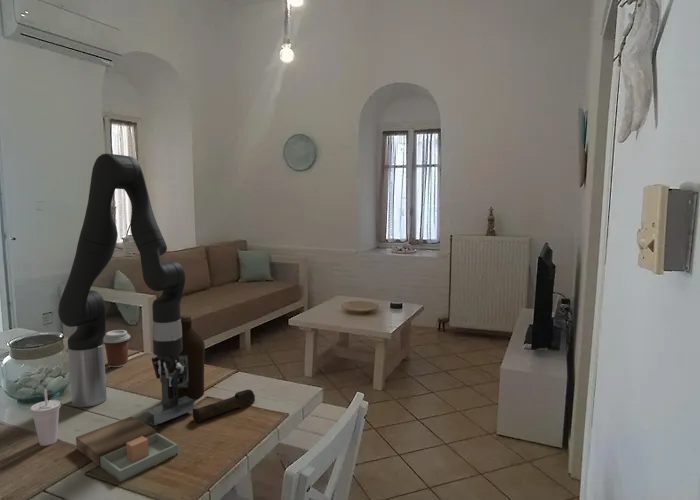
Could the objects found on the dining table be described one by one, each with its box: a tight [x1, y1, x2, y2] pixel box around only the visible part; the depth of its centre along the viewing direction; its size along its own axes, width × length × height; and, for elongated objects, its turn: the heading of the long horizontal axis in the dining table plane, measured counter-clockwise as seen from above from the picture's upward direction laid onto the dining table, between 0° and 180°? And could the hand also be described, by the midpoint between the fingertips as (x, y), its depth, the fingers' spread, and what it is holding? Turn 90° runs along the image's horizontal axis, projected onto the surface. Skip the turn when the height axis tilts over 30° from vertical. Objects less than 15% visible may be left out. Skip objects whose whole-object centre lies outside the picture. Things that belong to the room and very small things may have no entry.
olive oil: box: [178, 314, 206, 400], centre depth 146 cm, size 11×11×25 cm
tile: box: [126, 436, 149, 463], centre depth 112 cm, size 4×4×2 cm
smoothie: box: [30, 388, 62, 447], centre depth 119 cm, size 6×6×14 cm
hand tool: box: [192, 389, 256, 424], centre depth 136 cm, size 19×4×5 cm, turn 131°
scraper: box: [145, 372, 195, 426], centre depth 132 cm, size 4×12×12 cm, turn 142°
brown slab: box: [75, 415, 157, 467], centre depth 118 cm, size 12×14×3 cm
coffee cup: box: [103, 329, 131, 368], centre depth 172 cm, size 9×9×12 cm
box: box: [100, 432, 179, 482], centre depth 112 cm, size 9×14×2 cm, turn 142°
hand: (169, 396), depth 132 cm, fingers closed on scraper, 3 cm apart
